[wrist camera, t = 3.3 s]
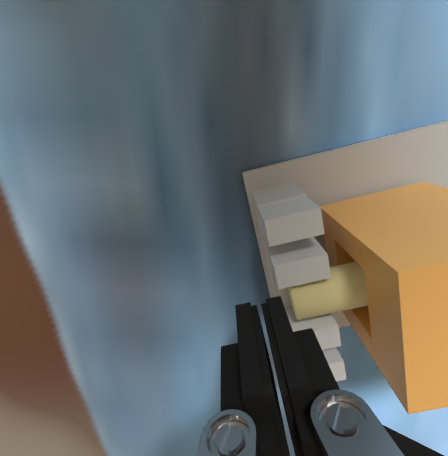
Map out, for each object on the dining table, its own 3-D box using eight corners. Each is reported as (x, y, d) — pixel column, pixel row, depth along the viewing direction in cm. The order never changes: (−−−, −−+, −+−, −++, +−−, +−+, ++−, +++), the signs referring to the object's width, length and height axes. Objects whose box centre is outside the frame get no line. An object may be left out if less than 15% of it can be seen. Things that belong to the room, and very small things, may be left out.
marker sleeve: (318, 206, 15) (398, 272, 8) (423, 181, 14) (595, 229, 8) (332, 297, 16) (408, 414, 10) (427, 277, 16) (572, 383, 9)
